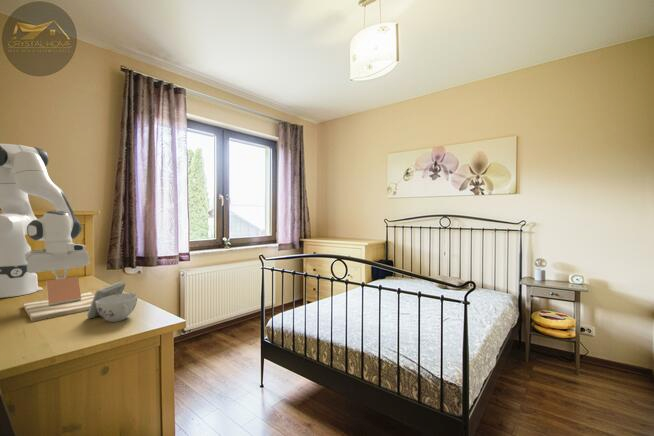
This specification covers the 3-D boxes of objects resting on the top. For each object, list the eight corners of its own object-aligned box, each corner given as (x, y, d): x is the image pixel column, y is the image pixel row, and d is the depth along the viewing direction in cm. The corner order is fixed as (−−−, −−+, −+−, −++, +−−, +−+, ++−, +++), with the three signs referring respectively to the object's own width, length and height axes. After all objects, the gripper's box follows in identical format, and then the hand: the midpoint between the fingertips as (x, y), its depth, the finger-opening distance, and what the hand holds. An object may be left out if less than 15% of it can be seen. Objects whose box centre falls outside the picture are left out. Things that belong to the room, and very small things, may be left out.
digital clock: (114, 305, 122) (114, 280, 122) (134, 306, 121) (134, 280, 121) (78, 319, 106) (78, 290, 105) (101, 320, 105) (100, 291, 105)
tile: (46, 281, 119) (46, 280, 119) (77, 277, 127) (78, 276, 126) (48, 306, 116) (49, 305, 115) (80, 300, 124) (81, 299, 123)
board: (23, 306, 119) (23, 303, 119) (90, 295, 137) (90, 292, 137) (32, 321, 103) (32, 317, 103) (107, 306, 120) (106, 302, 120)
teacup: (91, 320, 105) (90, 298, 105) (130, 311, 115) (130, 291, 115) (104, 330, 96) (104, 306, 96) (145, 319, 106) (145, 297, 105)
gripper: (25, 251, 115) (27, 285, 116) (90, 245, 131) (91, 275, 132) (23, 250, 119) (25, 283, 120) (86, 244, 135) (88, 274, 136)
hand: (61, 279), depth 126 cm, fingers closed
